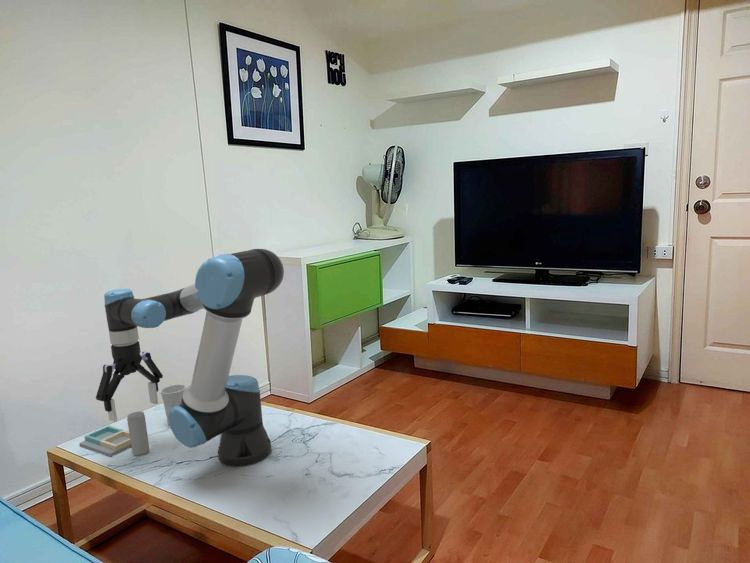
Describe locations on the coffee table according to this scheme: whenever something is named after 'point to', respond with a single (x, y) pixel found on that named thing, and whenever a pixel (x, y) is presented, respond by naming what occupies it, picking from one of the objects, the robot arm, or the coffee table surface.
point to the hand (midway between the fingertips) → (134, 411)
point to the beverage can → (138, 433)
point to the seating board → (107, 441)
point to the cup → (172, 397)
